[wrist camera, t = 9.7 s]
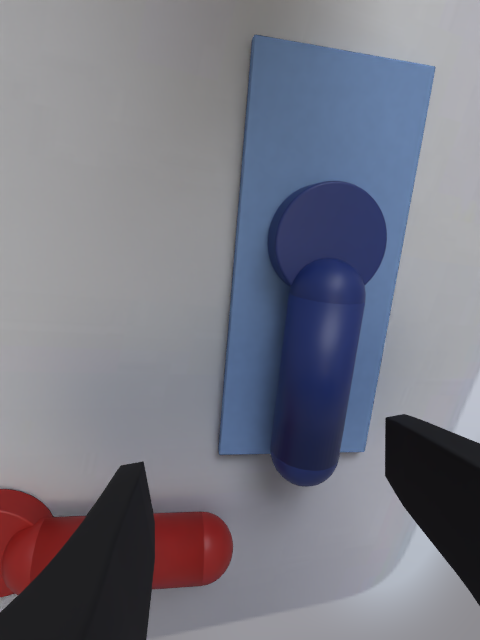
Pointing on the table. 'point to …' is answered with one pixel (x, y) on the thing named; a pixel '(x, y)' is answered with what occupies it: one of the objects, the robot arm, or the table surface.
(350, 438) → the blue mat
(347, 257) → the blue spoon
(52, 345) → the table surface
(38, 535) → the red spoon
